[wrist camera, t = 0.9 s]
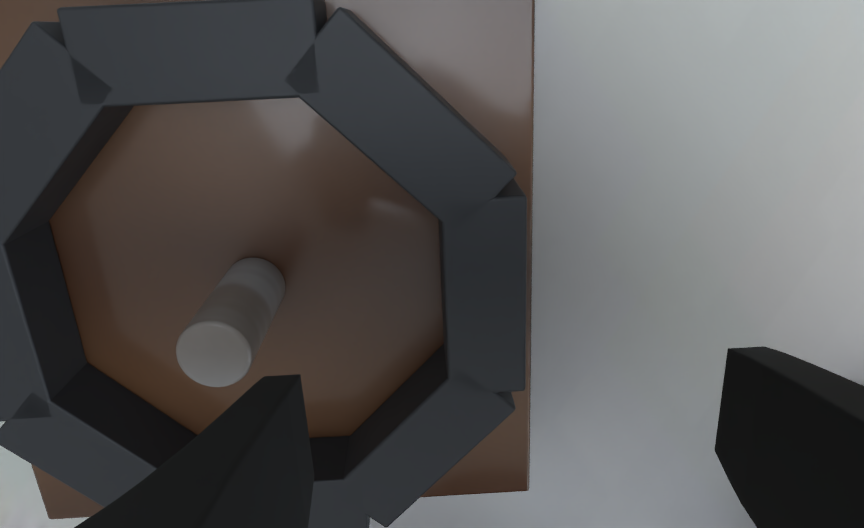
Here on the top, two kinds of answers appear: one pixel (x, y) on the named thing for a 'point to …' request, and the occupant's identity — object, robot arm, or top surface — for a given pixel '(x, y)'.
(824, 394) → the robot arm
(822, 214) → the top surface
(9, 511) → the top surface
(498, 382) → the headband ring
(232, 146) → the stand
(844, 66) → the top surface
